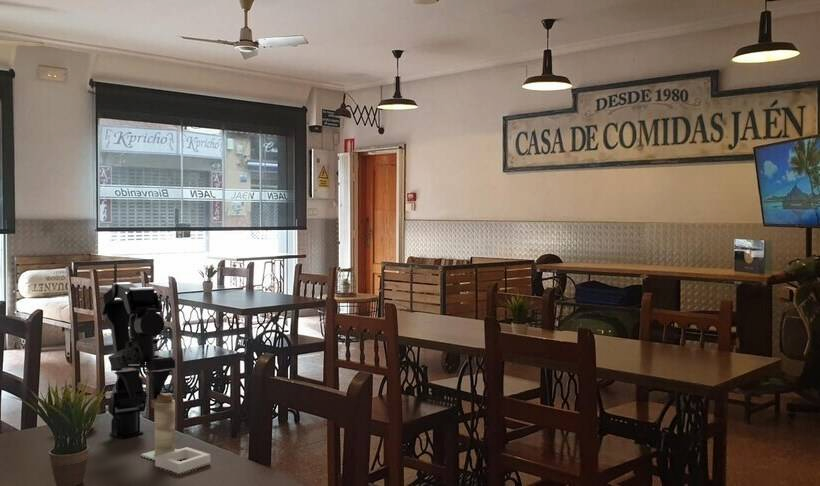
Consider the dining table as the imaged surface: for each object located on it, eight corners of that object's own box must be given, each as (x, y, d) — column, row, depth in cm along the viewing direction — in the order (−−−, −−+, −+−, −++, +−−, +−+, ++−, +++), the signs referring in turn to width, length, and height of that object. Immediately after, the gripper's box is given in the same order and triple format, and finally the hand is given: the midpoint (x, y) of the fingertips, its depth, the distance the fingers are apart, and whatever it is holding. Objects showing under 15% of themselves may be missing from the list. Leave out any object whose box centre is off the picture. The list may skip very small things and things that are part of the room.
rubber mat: (168, 448, 187) (168, 446, 187) (188, 455, 182) (188, 452, 182) (141, 456, 180) (141, 454, 180) (160, 463, 176) (160, 460, 176)
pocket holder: (186, 456, 181) (186, 447, 180) (210, 464, 175) (210, 454, 175) (155, 466, 173) (155, 456, 173) (178, 474, 168) (178, 464, 168)
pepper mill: (167, 449, 185) (167, 391, 184) (178, 452, 182) (178, 394, 181) (150, 453, 181) (150, 395, 180) (162, 457, 178) (162, 398, 177)
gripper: (90, 340, 184) (92, 402, 182) (137, 338, 173) (139, 404, 172) (129, 336, 193) (131, 396, 192) (175, 334, 183) (178, 397, 181)
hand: (144, 398), depth 184 cm, fingers open, 9 cm apart
